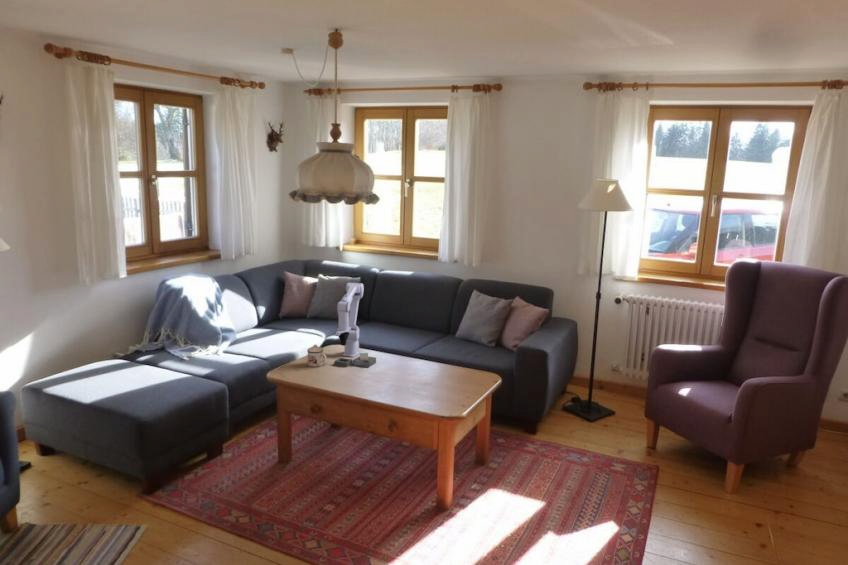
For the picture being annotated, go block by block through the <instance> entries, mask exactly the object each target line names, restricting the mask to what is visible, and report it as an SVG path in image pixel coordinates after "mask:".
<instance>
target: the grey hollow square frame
mask: <svg viewBox="0 0 848 565" xmlns="http://www.w3.org/2000/svg"><path fill="white" fill-rule="evenodd" d="M353 360H354V359H351V358H345V357H339V358H338V359H335V360H334V361H333V362H334V364H333V365H334V366H336V367H337V366H338V367H342V366H343V368H347V367H350V366H351V365H353ZM349 365H350V366H349Z"/></svg>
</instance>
